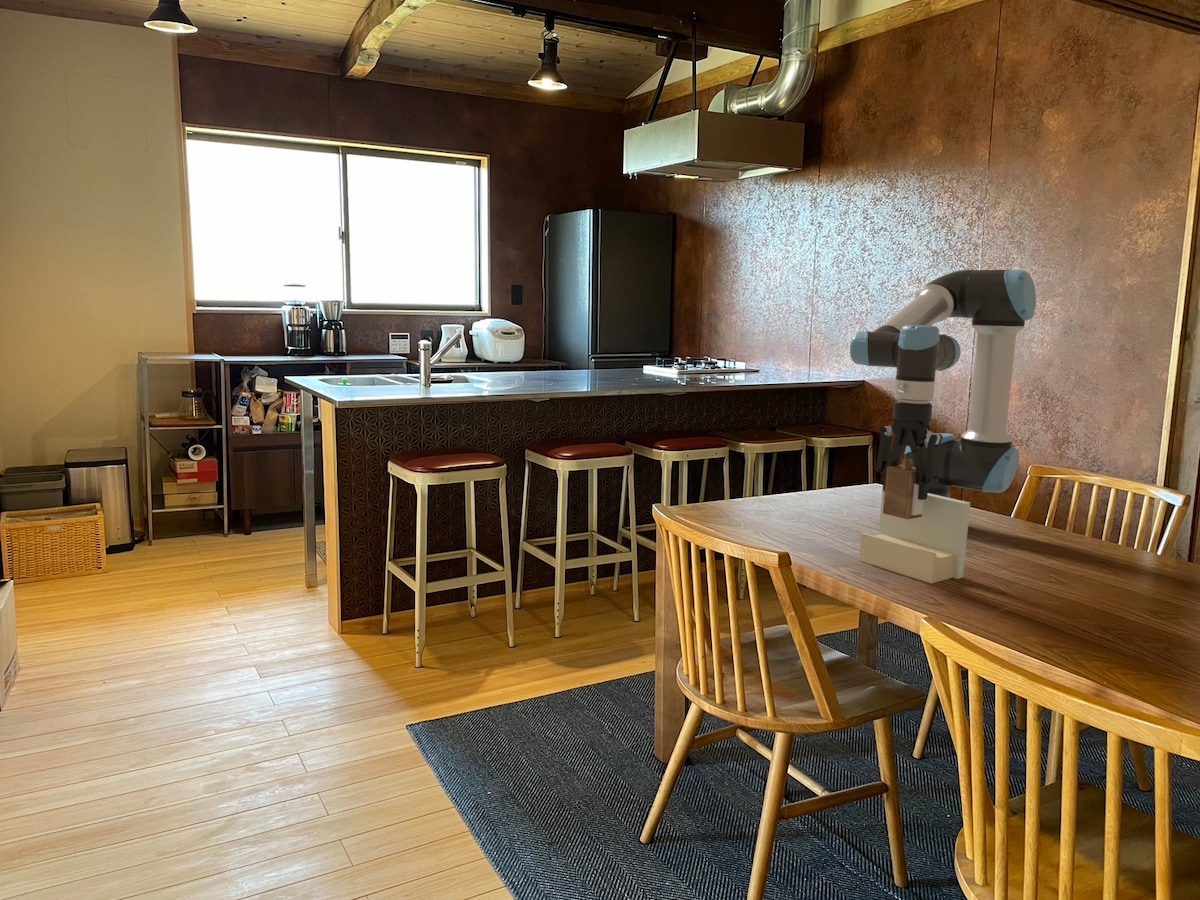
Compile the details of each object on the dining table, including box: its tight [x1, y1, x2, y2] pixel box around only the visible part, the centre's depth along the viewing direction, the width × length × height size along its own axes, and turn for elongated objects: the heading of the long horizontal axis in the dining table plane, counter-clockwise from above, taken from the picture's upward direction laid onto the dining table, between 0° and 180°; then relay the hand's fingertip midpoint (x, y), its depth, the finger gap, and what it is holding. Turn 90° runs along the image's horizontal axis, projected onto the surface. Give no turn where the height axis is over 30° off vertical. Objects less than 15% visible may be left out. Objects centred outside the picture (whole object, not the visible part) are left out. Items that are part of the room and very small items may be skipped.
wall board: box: [858, 488, 971, 585], centre depth 183 cm, size 10×20×16 cm, turn 35°
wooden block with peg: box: [883, 459, 922, 520], centre depth 180 cm, size 5×6×12 cm
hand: (902, 510), depth 180 cm, fingers closed on wooden block with peg, 6 cm apart
